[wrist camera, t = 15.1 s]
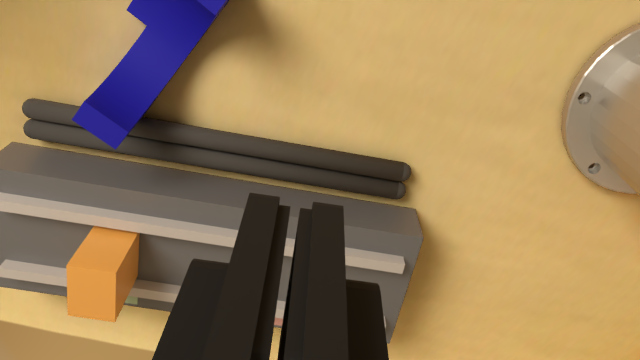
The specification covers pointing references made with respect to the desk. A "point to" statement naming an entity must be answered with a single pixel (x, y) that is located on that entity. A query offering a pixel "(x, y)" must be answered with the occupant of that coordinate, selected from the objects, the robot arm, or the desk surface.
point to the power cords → (226, 152)
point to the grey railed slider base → (173, 225)
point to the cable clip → (146, 65)
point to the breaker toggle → (102, 273)
